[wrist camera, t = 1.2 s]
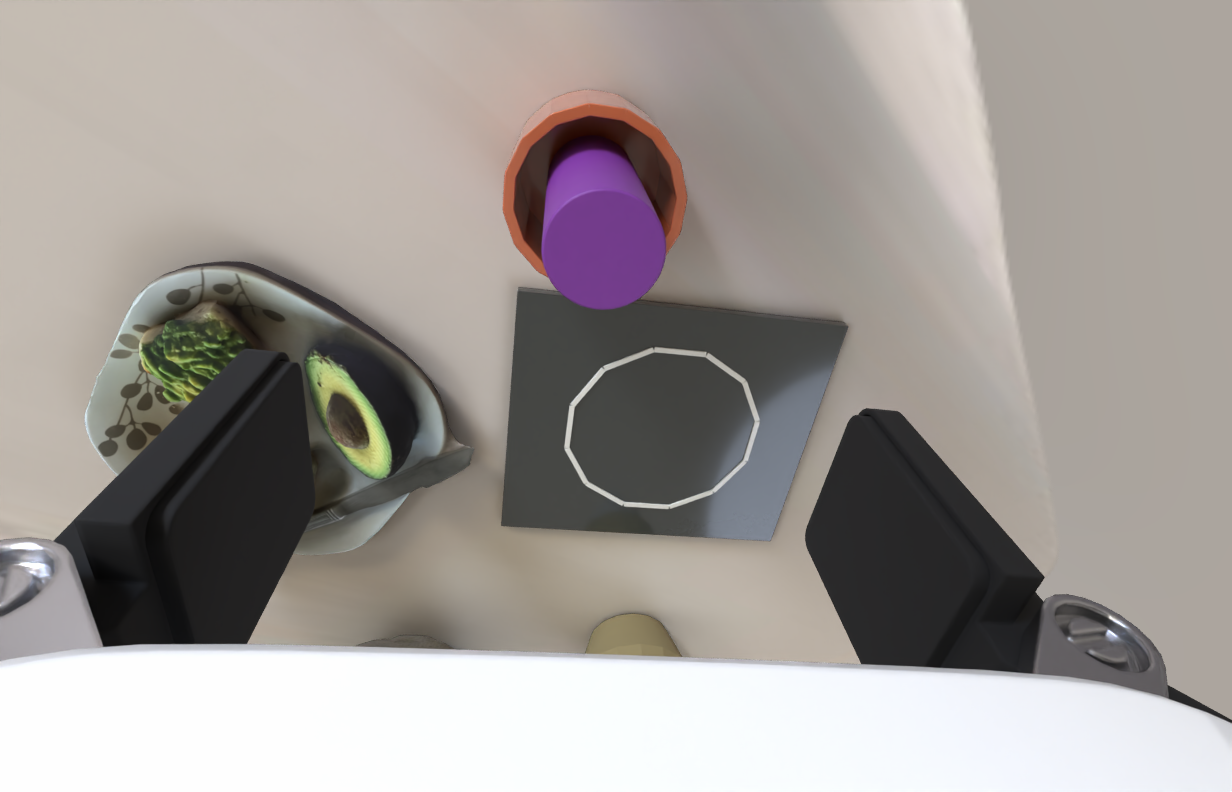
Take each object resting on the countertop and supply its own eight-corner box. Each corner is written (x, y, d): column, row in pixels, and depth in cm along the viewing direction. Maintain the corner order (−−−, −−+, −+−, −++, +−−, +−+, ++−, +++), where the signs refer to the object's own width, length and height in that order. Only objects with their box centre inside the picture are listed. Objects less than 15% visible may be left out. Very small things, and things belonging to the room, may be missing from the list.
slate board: (518, 286, 32) (517, 291, 32) (844, 321, 35) (849, 327, 34) (501, 519, 41) (501, 527, 40) (768, 535, 43) (771, 542, 42)
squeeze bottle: (667, 589, 45) (723, 886, 30) (691, 656, 49) (750, 948, 34) (560, 616, 46) (560, 921, 30) (592, 681, 50) (606, 977, 34)
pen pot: (517, 77, 28) (508, 90, 23) (679, 102, 29) (703, 120, 24) (508, 240, 31) (498, 280, 27) (652, 257, 32) (667, 298, 28)
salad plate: (339, 595, 43) (317, 654, 39) (51, 468, 36) (-12, 524, 32) (508, 407, 36) (501, 455, 32) (193, 205, 29) (136, 235, 25)
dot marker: (551, 125, 28) (547, 180, 19) (639, 137, 29) (677, 197, 19) (544, 214, 30) (536, 304, 21) (626, 224, 31) (654, 316, 21)
